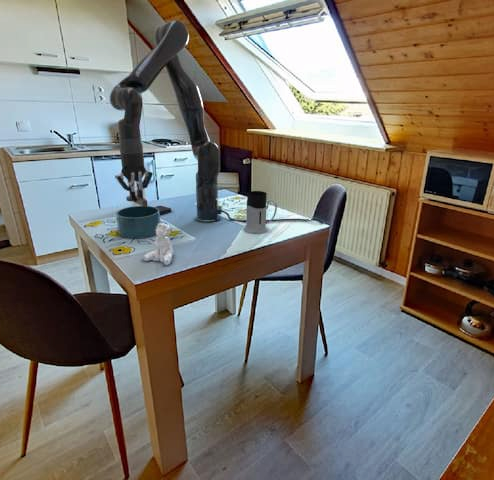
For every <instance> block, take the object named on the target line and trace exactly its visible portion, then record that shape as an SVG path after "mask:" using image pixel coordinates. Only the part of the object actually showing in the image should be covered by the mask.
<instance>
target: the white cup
mask: <svg viewBox="0 0 494 480" xmlns="http://www.w3.org/2000/svg"><path fill="white" fill-rule="evenodd" d="M134 188H135V195H137V190H138V189H137V185H134ZM142 191H143V199H145V200H147V188H144V189H143V190H142ZM128 193H129V195H130V192H129V191H128ZM130 203H131V207H133V206H141V205H139V204H137V203H135V202H133V201H130Z"/></svg>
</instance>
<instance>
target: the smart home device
mask: <svg viewBox="0 0 494 480" xmlns="http://www.w3.org/2000/svg"><path fill="white" fill-rule="evenodd" d="M154 207H155V208H158V209H159V212H160V216H161V215H162V216H163V215H165V214H169V213H172V208H171V207H168V206H164V205H156V206H154Z"/></svg>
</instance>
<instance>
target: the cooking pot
mask: <svg viewBox="0 0 494 480" xmlns="http://www.w3.org/2000/svg"><path fill="white" fill-rule="evenodd" d="M155 207H156V206H150V205H148V206H144V207H143V206H133V207H132V206H127V207H123V208H120V209H119V210H117V211H116V214H115V216H116V224H117V226H116V227H117V233H118V235H119V236H120V237H123V238H126V239H145V238H150V237H154V236H157V235H156V227H157V225H158V224H159V223H161V215H160V212H159V209H158V208H155Z"/></svg>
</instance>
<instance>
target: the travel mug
mask: <svg viewBox="0 0 494 480" xmlns="http://www.w3.org/2000/svg"><path fill="white" fill-rule="evenodd" d="M267 194H268V193H267V192H266V191H263V190H252V191H247V196H246V197H247V199H246V213H245V214H246V215H245V217H246V218H245V220H246V222H245V228H244V231H245V232H247V233H250V234H263V233H266V232H267V230H268V229H267V227H266V226H267V224H269V223H270V222H272V221H271V220H274V218H275V216H276V214H277V210H278V204H277V202H276V200H274V199H269V200H268V201H267V199H268V197H267ZM270 202H273V204H274V205H275V206H274V213H273V215H272V217H271V218H270V219H269V220H270V221H268V222H266V220H267V210H268V209H269V204H270Z"/></svg>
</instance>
